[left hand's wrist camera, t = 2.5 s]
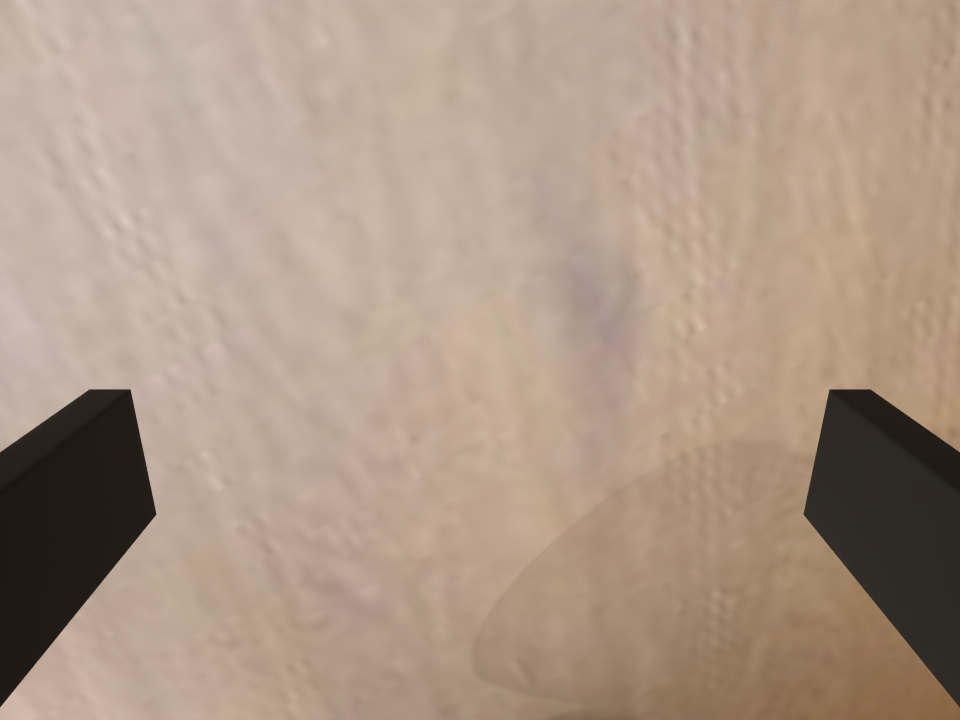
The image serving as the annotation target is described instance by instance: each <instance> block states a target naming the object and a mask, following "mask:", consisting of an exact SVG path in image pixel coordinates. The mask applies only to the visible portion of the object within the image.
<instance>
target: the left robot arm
mask: <svg viewBox="0 0 960 720" xmlns="http://www.w3.org/2000/svg"><path fill="white" fill-rule="evenodd" d="M155 516H156V510H155V505H154V501H153V496H152V491H151V486H150V481H149V477H148V472H147V467H146V462H145V457H144V452H143V448H142V443H141V438H140V433H139V428H138V424H137V419H136V414H135V409H134V404H133V399H132V395H131V390H88V391H87V392H85V393H84V394H83V395H81V396H80V397H78V398H77V399H75V400H74V401H73V402H71V403H70V404H68V405H67V406H65V407H64V408H63V409H61V410H60V411H58V412H57V413H56V414H54V415H53V416H51V417H50V418H48V419H47V420H46V421H44V422H43V423H41V424H40V425H38V426H37V427H36V428H34V429H33V430H31V431H30V432H29V433H27V434H26V435H24V436H23V437H21V438H20V439H19V440H17V441H16V442H14V443H13V444H11V445H10V446H9V447H7V448H6V449H4V450H3V451H1V452H0V707H1V706H2V704H3V703H4V702H5V701H6V700H7V698H8V697H9V696H10V695H11V693H12V692H13V691H14V690H15V688H16V687H17V686H18V685H19V683H20V682H21V681H22V680H23V679H24V677H25V676H26V675H27V674H28V672H29V671H30V670H31V669H32V667H33V666H34V665H35V664H36V662H37V661H38V660H39V659H40V658H41V656H42V655H43V654H44V653H45V651H46V650H47V649H48V648H49V646H50V645H51V644H52V643H53V641H54V640H55V639H56V638H57V637H58V635H59V634H60V633H61V632H62V630H63V629H64V628H65V627H66V625H67V624H68V623H69V622H70V621H71V619H72V618H73V617H74V616H75V614H76V613H77V612H78V611H79V609H80V608H81V607H82V606H83V604H84V603H85V602H86V601H87V600H88V598H89V597H90V596H91V595H92V593H93V592H94V591H95V590H96V588H97V587H98V586H99V585H100V583H101V582H102V581H103V580H104V579H105V577H106V576H107V575H108V574H109V572H110V571H111V570H112V569H113V567H114V566H115V565H116V564H117V562H118V561H119V560H120V559H121V558H122V556H123V555H124V554H125V553H126V551H127V550H128V549H129V548H130V546H131V545H132V544H133V543H134V542H135V540H136V539H137V538H138V537H139V535H140V534H141V533H142V532H143V530H144V529H145V528H146V527H147V525H148V524H149V523H150V522H151V521H152V519H153V518H154V517H155ZM804 516H805V517H806V518H807V519H808V521H809V522H810V523H811V524H812V525H813V527H814V528H815V529H816V530H817V532H818V533H819V534H820V535H821V537H822V538H823V539H824V540H825V542H826V543H827V544H828V545H829V546H830V548H831V549H832V550H833V551H834V553H835V554H836V555H837V556H838V558H839V559H840V560H841V561H842V562H843V564H844V565H845V566H846V567H847V569H848V570H849V571H850V572H851V574H852V575H853V576H854V577H855V579H856V580H857V581H858V582H859V583H860V585H861V586H862V587H863V588H864V590H865V591H866V592H867V593H868V595H869V596H870V597H871V598H872V600H873V601H874V602H875V603H876V604H877V606H878V607H879V608H880V609H881V611H882V612H883V613H884V614H885V616H886V617H887V618H888V619H889V621H890V622H891V623H892V624H893V625H894V627H895V628H896V629H897V630H898V632H899V633H900V634H901V635H902V637H903V638H904V639H905V640H906V641H907V643H908V644H909V645H910V646H911V648H912V649H913V650H914V651H915V653H916V654H917V655H918V656H919V658H920V659H921V660H922V661H923V662H924V664H925V665H926V666H927V667H928V669H929V670H930V671H931V672H932V674H933V675H934V676H935V677H936V679H937V680H938V681H939V682H940V683H941V685H942V686H943V687H944V688H945V690H946V691H947V692H948V693H949V695H950V696H951V697H952V698H953V700H954V701H955V702H956V703H957V704H958V706H959V707H960V452H959V451H957V450H956V449H954V448H953V447H951V446H950V445H949V444H947V443H946V442H944V441H943V440H941V439H940V438H939V437H937V436H936V435H934V434H933V433H931V432H930V431H929V430H927V429H926V428H924V427H923V426H922V425H920V424H919V423H917V422H916V421H914V420H913V419H912V418H910V417H909V416H907V415H906V414H904V413H903V412H902V411H900V410H899V409H897V408H896V407H895V406H893V405H892V404H890V403H889V402H887V401H886V400H885V399H883V398H882V397H880V396H879V395H877V394H876V393H875V392H873V391H872V390H829V395H828V399H827V404H826V409H825V414H824V419H823V424H822V428H821V433H820V438H819V443H818V448H817V452H816V457H815V462H814V467H813V472H812V476H811V481H810V486H809V491H808V496H807V501H806V505H805V510H804Z"/></svg>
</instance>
